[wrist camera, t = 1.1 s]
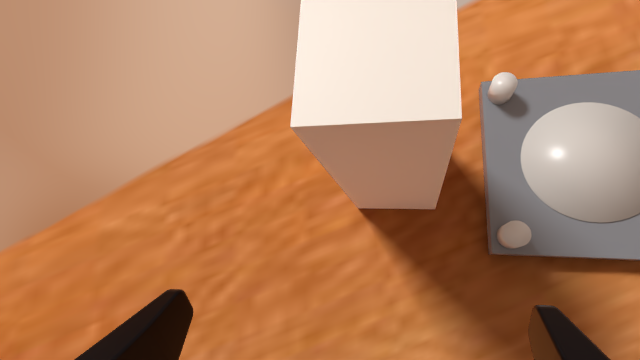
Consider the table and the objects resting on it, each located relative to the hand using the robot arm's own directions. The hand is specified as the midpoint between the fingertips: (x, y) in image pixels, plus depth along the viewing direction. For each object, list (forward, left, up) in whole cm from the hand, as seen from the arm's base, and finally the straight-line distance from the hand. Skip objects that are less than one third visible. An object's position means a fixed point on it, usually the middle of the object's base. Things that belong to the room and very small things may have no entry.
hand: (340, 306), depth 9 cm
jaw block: (+4, -6, -14) cm, 16 cm away
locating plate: (-4, -13, -14) cm, 20 cm away
